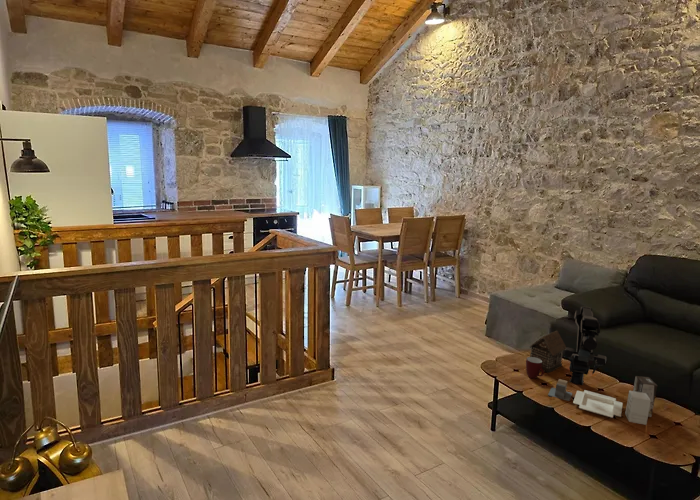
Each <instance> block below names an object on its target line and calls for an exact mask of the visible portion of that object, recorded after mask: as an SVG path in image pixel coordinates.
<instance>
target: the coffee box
mask: <svg viewBox="0 0 700 500" xmlns="http://www.w3.org/2000/svg"><path fill="white" fill-rule="evenodd" d="M657 389H658V384H657V383H656V382H654V381H653V379H651V377H649V376H641V375H640V376H638V375H635V378H634V384H633V390H632V391H635V392H641V393H646V394H647V395H648V397H649V399H650V400H651V402H650V407H649V413H648V418H652V416H653V411H654V407H655V400H656V396H657Z"/></svg>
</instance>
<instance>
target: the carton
mask: <svg viewBox="0 0 700 500" xmlns="http://www.w3.org/2000/svg"><path fill="white" fill-rule="evenodd" d="M572 401H573V402H572V404H575V405H579V406H578V408H579V409H580V410H584V411H586V412H591V413H594V414H597V415H601V416H605V417H608V418H611V419H613V418H614V416H616V417H622V410H623V404H624V403H623V402H621V401H617V398H616V397H612V396H609V395H605V394H600V393H598V392H594V391H590V390H586V389H584V391H580V390H576V393H575V395H574V399H573V400H572Z"/></svg>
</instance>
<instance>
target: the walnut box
mask: <svg viewBox="0 0 700 500" xmlns="http://www.w3.org/2000/svg"><path fill="white" fill-rule="evenodd" d="M555 388H556V390H555V396H557V397H560V398H564V396H565V393H566V391H567V388H568V380H565V379H561V378H558V381H557V382H556V384H555ZM560 398H559V399H560Z"/></svg>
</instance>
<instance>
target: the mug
mask: <svg viewBox="0 0 700 500" xmlns="http://www.w3.org/2000/svg"><path fill="white" fill-rule="evenodd" d="M525 359H526V360H525V370H526V375H527V376H528V378H530V379H533V380H534V379H537V377H543V375H544V374H545V372H544V371H543V369H542V368H541V367H542V360H541V359H539V358H535V357H530V356H527V357H526V358H525ZM540 372H541V374H540Z"/></svg>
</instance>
